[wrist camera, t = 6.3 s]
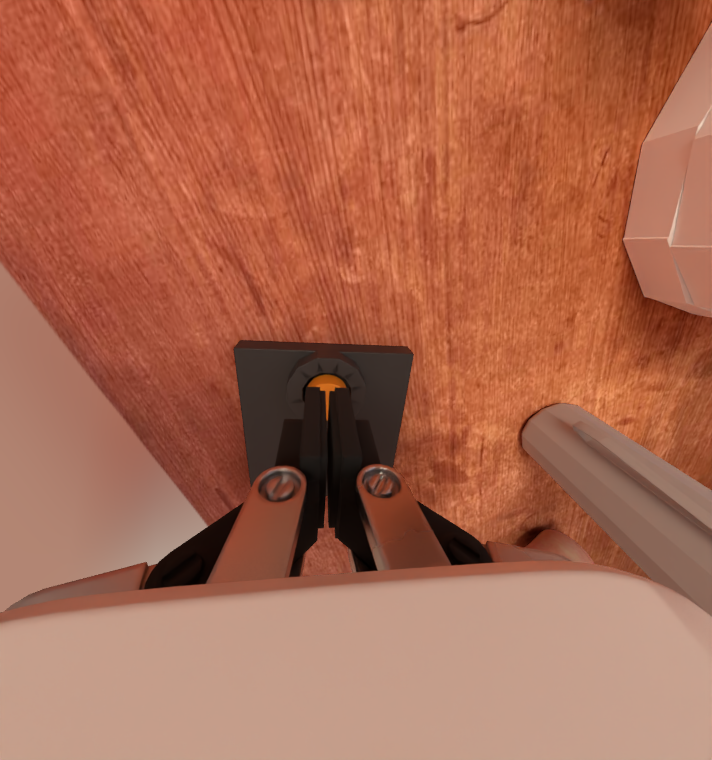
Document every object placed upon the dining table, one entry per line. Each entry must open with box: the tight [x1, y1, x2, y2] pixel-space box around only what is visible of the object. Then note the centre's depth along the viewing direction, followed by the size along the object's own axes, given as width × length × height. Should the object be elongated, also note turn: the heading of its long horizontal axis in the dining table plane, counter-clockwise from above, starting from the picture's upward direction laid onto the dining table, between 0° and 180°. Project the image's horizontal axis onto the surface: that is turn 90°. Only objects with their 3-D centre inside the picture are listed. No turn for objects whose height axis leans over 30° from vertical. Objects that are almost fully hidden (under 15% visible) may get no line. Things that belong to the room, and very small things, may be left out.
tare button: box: [307, 375, 346, 420], centre depth 21 cm, size 3×3×2 cm
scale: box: [234, 340, 414, 496], centre depth 25 cm, size 14×16×4 cm
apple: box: [525, 529, 594, 564], centre depth 36 cm, size 8×8×8 cm
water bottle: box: [522, 403, 712, 616], centre depth 19 cm, size 9×8×25 cm
